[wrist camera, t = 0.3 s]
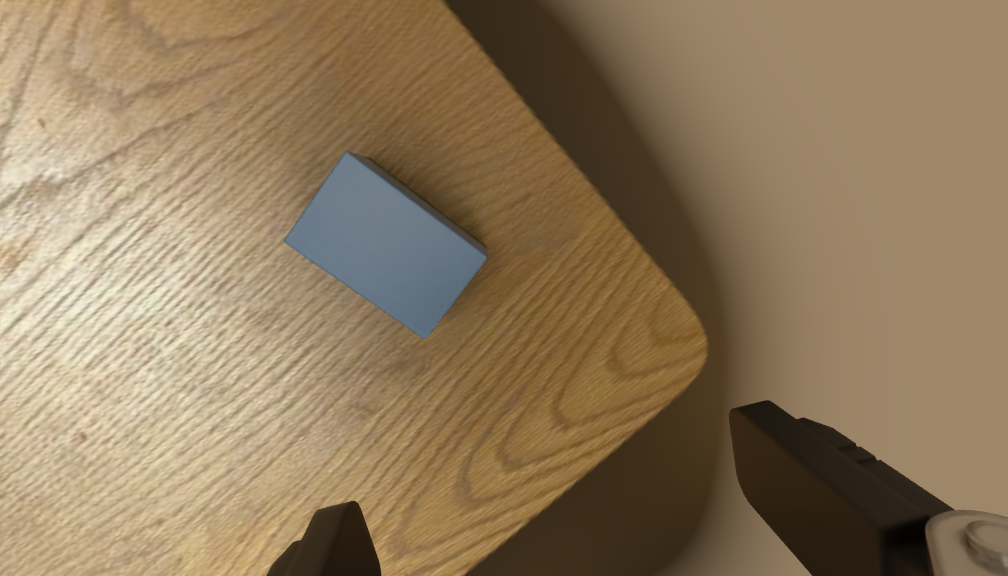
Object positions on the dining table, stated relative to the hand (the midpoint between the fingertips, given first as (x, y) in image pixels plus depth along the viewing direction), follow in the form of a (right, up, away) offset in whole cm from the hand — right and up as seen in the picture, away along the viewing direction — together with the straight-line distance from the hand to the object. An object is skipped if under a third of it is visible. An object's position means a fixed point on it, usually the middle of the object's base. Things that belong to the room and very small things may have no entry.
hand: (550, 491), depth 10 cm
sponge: (-6, +7, +13) cm, 16 cm away
